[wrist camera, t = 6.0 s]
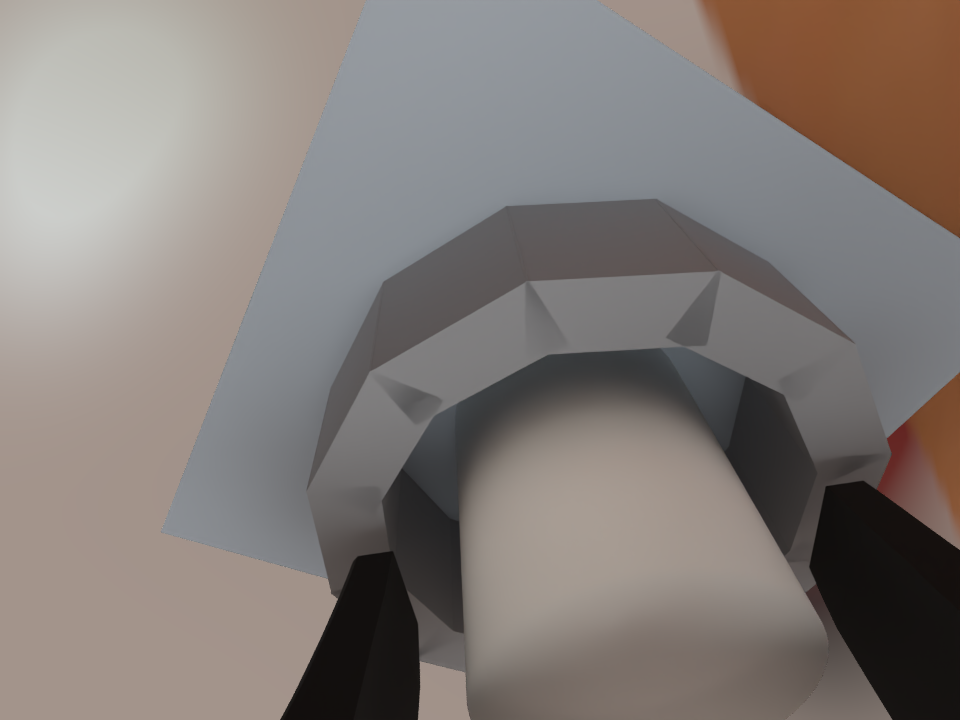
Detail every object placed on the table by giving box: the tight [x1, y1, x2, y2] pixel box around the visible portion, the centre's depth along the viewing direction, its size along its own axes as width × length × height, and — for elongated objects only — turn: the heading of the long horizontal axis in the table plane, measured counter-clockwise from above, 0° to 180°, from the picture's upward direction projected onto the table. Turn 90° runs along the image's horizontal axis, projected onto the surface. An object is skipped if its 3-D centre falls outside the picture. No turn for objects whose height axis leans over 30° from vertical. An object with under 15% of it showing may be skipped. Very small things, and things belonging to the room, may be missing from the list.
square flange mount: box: [161, 0, 960, 672], centre depth 13 cm, size 14×14×4 cm
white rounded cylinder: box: [455, 348, 829, 720], centre depth 11 cm, size 5×5×6 cm
